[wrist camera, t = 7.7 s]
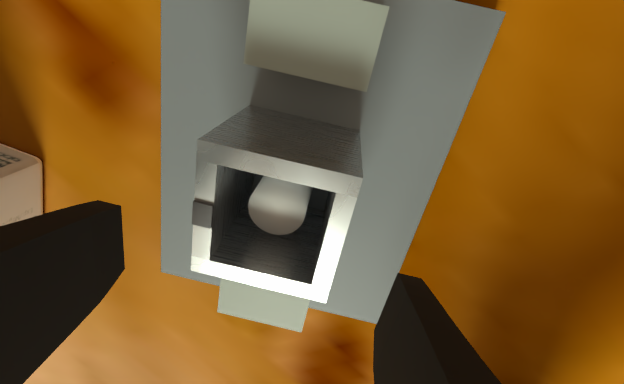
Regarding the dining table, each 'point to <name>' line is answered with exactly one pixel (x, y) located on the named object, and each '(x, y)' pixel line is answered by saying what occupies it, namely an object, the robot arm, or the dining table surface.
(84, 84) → the dining table surface
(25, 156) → the container
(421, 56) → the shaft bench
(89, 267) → the robot arm
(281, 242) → the box
